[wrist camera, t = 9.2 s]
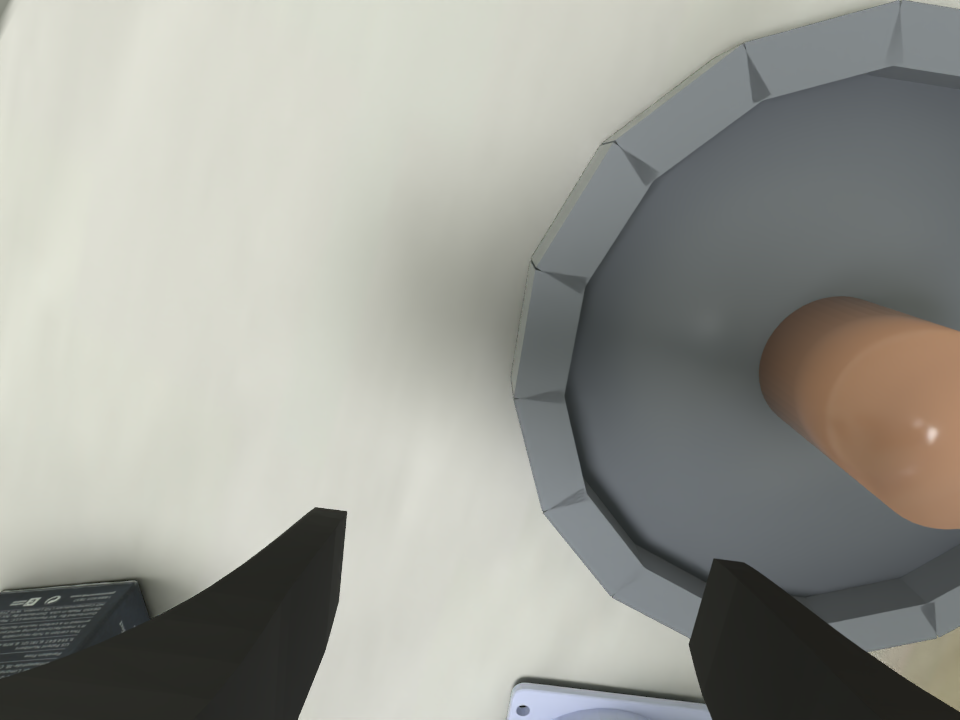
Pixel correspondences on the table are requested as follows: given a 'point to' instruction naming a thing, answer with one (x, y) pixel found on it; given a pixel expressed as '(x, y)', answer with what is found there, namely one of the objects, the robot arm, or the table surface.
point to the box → (64, 621)
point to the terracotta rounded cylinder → (874, 400)
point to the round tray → (746, 322)
